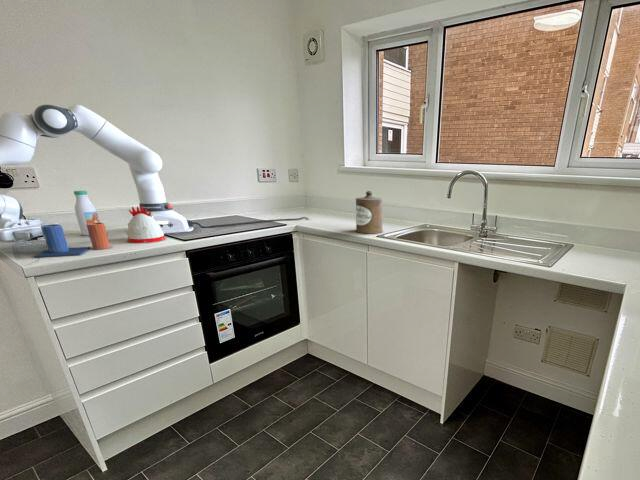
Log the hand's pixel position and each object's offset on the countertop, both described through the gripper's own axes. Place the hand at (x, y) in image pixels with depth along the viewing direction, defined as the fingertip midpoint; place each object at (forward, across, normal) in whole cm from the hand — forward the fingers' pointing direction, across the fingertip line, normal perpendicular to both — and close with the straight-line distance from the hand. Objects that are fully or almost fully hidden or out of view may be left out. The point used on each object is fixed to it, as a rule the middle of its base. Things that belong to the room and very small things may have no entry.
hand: (44, 232), depth 133 cm
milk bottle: (-18, +32, +8) cm, 38 cm away
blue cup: (+4, 0, +7) cm, 8 cm away
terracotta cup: (+11, +11, +8) cm, 17 cm away
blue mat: (+5, +1, +8) cm, 9 cm away
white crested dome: (+14, +30, +8) cm, 34 cm away
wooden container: (+105, +86, +7) cm, 136 cm away
